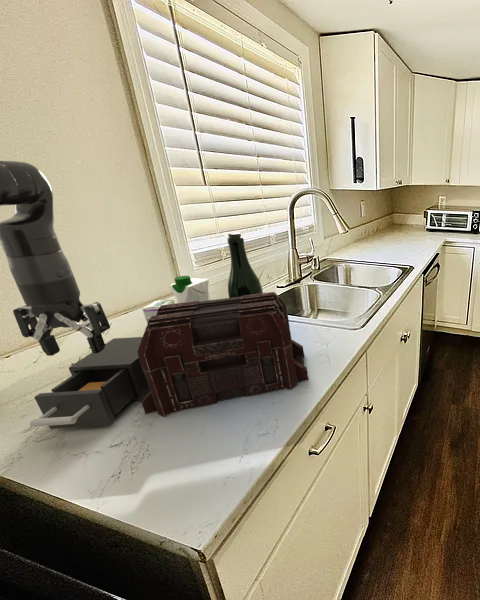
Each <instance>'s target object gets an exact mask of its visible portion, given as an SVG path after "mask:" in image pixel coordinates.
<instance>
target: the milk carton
mask: <svg viewBox="0 0 480 600" xmlns="http://www.w3.org/2000/svg"><path fill="white" fill-rule="evenodd" d="M209 285H210V280H209V278H195V277H194V278H193V277H191V276H189V275H180V276H176V277H175V278H174V282H173V283H171V284H168V287H169V288H170V291H171V292H172V294H173V296H174V298H175V301H176V302H175V303H185V302H193V301H199V302H200V301H209V300H211V295H210V289H209V287H210V286H209Z"/></svg>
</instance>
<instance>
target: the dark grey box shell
mask: <svg viewBox="0 0 480 600" xmlns="http://www.w3.org/2000/svg"><path fill="white" fill-rule="evenodd" d="M142 337H143V336H133V337H116V338H115V337H114V338H112V339H110V340H109V341H107V342H106V343H105V347H104V350H102V351H101V352H99V353H92V352H90V353H89V354H88V355H86V356H84V357H83V358H81V359H80V360H78V361H77V362H75V363H73V364H72V365H70V366H69V367H68V370H69V373H70V376H72V375H74V374H75V373H77V372H78V371H80V370H97V369H114V368H128V371H129V373H130V376H131V379H132V382H133V384H134V387H135V390H136V392H137V395H136V396H135V397H134V398H132V399H131V400H130V401H129V402H136V401H137V402H138V401H143V399H144V398H145V397H146V396H147V395H148V393H149V392H150V389H149V386H148V383H147V380H146V377H145V374H144V371H143V369H142V366H141V363H140V360H139V357H138V354H137V351H138V349H139V346H140V343H141V340H142Z"/></svg>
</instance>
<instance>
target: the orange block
mask: <svg viewBox="0 0 480 600" xmlns="http://www.w3.org/2000/svg"><path fill="white" fill-rule="evenodd" d="M104 383H105V382H90V383H88V384H86V385H85V386H84V387H82V388H81V389H80V390H78V391H84V390H100V389H101V388H100V386H101V385H103V384H104Z"/></svg>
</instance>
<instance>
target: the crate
mask: <svg viewBox="0 0 480 600" xmlns="http://www.w3.org/2000/svg"><path fill="white" fill-rule="evenodd" d="M287 307H288V306H287V304H286V303H285V302H284V301H283V300H282V298H281V297H280V296H279V295H278V294H277V293H276V291H269V292H263V293H260V294H251V295H243V296H241V297H234V298H229V297H226V298H219V299H210V300H209V301H200V302H199V301H193V302H185V303H177V302H175V304H168V305H161V306H160V307H159V308H158V312H157V315H156V316H152V317H151V318H150V319H149V320H148V324H147V323H146V326H145V328H144V332H143V335H142V336H141V337H142V340H141V343H140V346H139V349H138V351H137V354H138V357H139V360H140V363H141V366H142V369H143V371H144V374H145V377H146V380H147V383H148V386H149V389H150V392H149V393H148V395H147V396H146V397H145V398H144V399H143V400H141V403H140V404H141V407H142V409H143V412H144V415H146V414H151V413H155V412H157V414H158V416H160V417H163V418H166V417H168V416H169V415H171V414H174V413H179V412H183V411H188V410H193V409H197V408H202V407H207V406H211V405H216V404H218V402H222V401H226V400H231V399H236V398H241V397H246V398H250V397H254V396H258V395H259V396H260V395H263V394H268V393H272V392H273V393H274V392H279V391H282V390H289V391H292V390H293V389H295V388H296V387H297V386H298V383H300V382H304V381H309V373H308V372H309V371H308V367H307V366H306V365H305V361H304V358H305V352H304V351H305V350H304V346H303V345H301V344H300V343H299V342H297V341H295V340H293V339H292V334H291V327H290V321H289V314H288V313H289V312H288V308H287Z"/></svg>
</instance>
